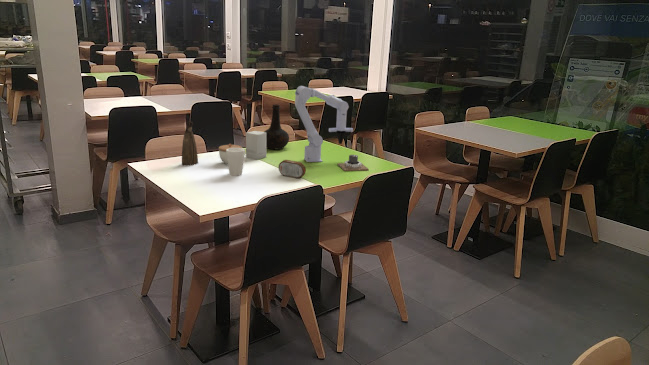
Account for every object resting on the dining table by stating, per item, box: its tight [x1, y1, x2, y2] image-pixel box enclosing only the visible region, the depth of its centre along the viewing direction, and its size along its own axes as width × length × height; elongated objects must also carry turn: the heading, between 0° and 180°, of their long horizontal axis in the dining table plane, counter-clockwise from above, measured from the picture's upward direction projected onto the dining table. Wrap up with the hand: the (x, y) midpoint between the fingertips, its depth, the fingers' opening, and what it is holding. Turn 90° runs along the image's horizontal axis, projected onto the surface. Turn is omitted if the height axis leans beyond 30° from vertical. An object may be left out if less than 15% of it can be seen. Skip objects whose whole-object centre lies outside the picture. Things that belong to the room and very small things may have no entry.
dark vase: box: [263, 104, 290, 150], centre depth 308 cm, size 18×18×28 cm
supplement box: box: [245, 130, 267, 160], centre depth 285 cm, size 9×9×15 cm
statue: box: [181, 119, 199, 166], centre depth 263 cm, size 9×8×25 cm
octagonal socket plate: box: [337, 159, 370, 172], centre depth 273 cm, size 14×14×3 cm
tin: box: [278, 159, 307, 179], centre depth 249 cm, size 15×3×8 cm, turn 65°
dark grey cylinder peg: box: [348, 154, 359, 164], centre depth 272 cm, size 5×5×6 cm
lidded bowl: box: [218, 143, 243, 165], centre depth 270 cm, size 13×13×11 cm
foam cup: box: [226, 147, 246, 177], centre depth 249 cm, size 10×9×13 cm
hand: (340, 143), depth 288 cm, fingers closed
